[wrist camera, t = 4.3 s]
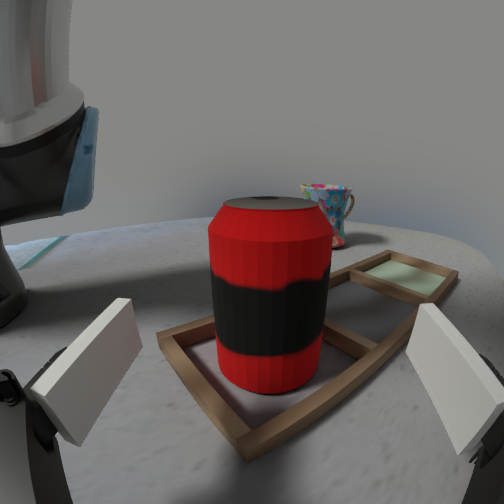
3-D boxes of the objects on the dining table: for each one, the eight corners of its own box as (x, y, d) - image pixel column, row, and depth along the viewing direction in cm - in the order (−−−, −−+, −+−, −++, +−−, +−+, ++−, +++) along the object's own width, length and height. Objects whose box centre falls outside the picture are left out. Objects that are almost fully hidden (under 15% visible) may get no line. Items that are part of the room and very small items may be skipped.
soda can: (300, 330, 24) (308, 194, 21) (332, 386, 17) (358, 211, 13) (216, 338, 23) (207, 197, 19) (222, 403, 16) (206, 215, 12)
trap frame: (159, 347, 22) (156, 332, 21) (386, 258, 42) (388, 249, 42) (247, 463, 12) (247, 450, 11) (456, 281, 32) (458, 271, 31)
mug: (320, 255, 44) (323, 189, 41) (289, 241, 52) (290, 184, 49) (367, 245, 49) (372, 189, 46) (335, 234, 57) (337, 184, 54)
